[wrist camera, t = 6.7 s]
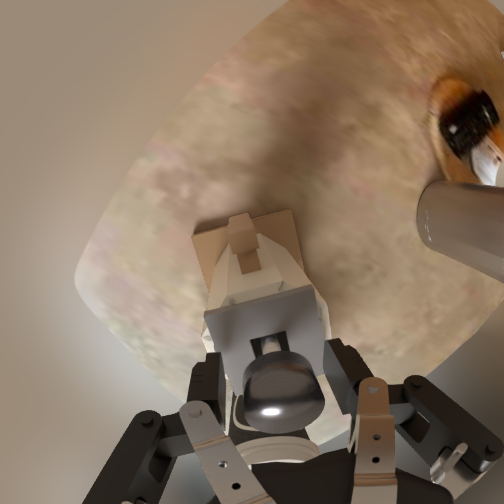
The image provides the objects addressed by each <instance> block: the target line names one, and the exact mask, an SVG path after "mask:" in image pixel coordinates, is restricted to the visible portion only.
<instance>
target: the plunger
mask: <svg viewBox="0 0 504 504" xmlns="http://www.w3.org/2000/svg"><path fill="white" fill-rule="evenodd" d="M260 340H261V346H262V351H263V355H261V356H260V357H258V358H256V359H255V360H253V361H252V362H251V363H250V364H249V365H248V366H247V367H246V369H245V371H244V373H243V376H242V387H243V403H244V416H245V419H246V421H247V423H248V424H249V425H250V426H251V427H253V428H254V429H256V430H259V431H261V432H265V433H272V434H281V433H288V432H293V431H296V430H299V429H301V428H304V427H306V426H307V425H309V424H311V423H312V422H313V421H314V420H316V419H317V418H318V417H319V415H320V414H321V413H322V411H323V409H324V406H325V398H324V395H323V393H322V390H321V388H320V385H319V383H318V380H317V378H316V376H315V373H314V371H313V368H312V366H311V364H310V362H309V361H308V360H307V359H306V358H305V357H304V356H302V355H301V354H298V353H296V352H292V351H281V348H280V345H279V341H278V337H277V334H276V333H275V334H271V335H267V336H263V337H260Z"/></svg>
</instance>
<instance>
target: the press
mask: <svg viewBox="0 0 504 504" xmlns="http://www.w3.org/2000/svg"><path fill="white" fill-rule="evenodd" d="M191 238H192V241H193V244H194V248H195V251H196V254H197V257H198V261H199V264H200V267H201V270H202V273H203V276H204V279H205V282H206V285H207V288H208V291H209V298H208V303H207V308H206V311H205V312H204V324H203V330H202V335H201V337H202V340H203V342H204V345H205V347H206V350H207V352H221V354H222V360H223V366H224V372H225V379H228V380H229V382H230V384H231V387H232V389H233V391H234V393H235V396H238V395H243V387H242V376H243V373H244V371H245V369H246V367H247V366H248V365H249V364H250V363H251V362H252V361H253V360H255V359H256V358H258V357H260V356H261V355H263V351H262V346H261V340H260V337H263V336H267V335H271V334H275V333H276V334H277V337H278V341H279V345H280V348H281V351H292V352H296V353H298V354H301V355H302V356H304V357H305V358H306V359H307V360H308V361H309V362H310V364H311V366H312V368H313V371H314V373H315V376H319V375H322V374H325V373H324V370H323V354H324V342H325V340H329V339H332V336H331V328H330V321H329V313H328V306H327V304H326V302H325V301H324V299H323V298H322V297H321V295H320V294H319V293H318V291H317V290H316V288H315V287H314V286H313V284H312V283H311V282H310V280H309V279H308V277H307V276H306V275H305V271H304V266H303V261H302V256H301V251H300V246H299V242H298V237H297V232H296V227H295V223H294V218H293V214H292V210H290V209H287V210H283V211H279V212H275V213H271V214H267V215H263V216H259V217H255V218H250V216H249V214H248V212H247V213H244V214H240V215H236V216H232V217H229V224H228V225H224V226H221V227H217V228H213V229H210V230H206V231H202V232H199V233H195V234H193V235H192V236H191Z"/></svg>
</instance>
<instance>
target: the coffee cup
mask: <svg viewBox="0 0 504 504" xmlns="http://www.w3.org/2000/svg"><path fill="white" fill-rule="evenodd" d="M228 436H229V437H230V439H231V440H232V442H233V444H234V445H235V447H236V448H237V450H238V452H239V453H240V455H241V456H242V458H243V459H244V461H245V463H246V464H247V466H248V467H249V469H250V470H251V464H257V463H267V462H293V463H302V462H305V461H307V460H310V459H312V458H315V457H317V456H319V448H318V446H317V445H316V444H315V443H313V442H312V441H310V439H309V437H308V434H307V432H306V430H305V427H304V428H301V429H299V430H296V431H293V432H288V433H281V434H272V433H265V432H261V431H259V430H256V429H254V428H253V427H251V426H250V425H249V424H248V423H247V421H246V419H245V416H244V403H243V395H238V396H235V393H234V391H233V396H232V406H231V415H230V424H229V433H228Z"/></svg>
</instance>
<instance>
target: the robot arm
mask: <svg viewBox="0 0 504 504" xmlns="http://www.w3.org/2000/svg"><path fill="white" fill-rule="evenodd" d="M417 225H418V231H419V234H420V237H421V239H422V240H423V242H424V243H425V245H426V246H427V247H429V248H430V249H432V250H434V251H437V252H439V253H441V254H444V255H446V256H448V257H450V258H452V259H454V260H457V261H459V262H461V263H463V264H465V265H467V266H470V267H472V268H474V269H476V270H478V271H480V272H482V273H484V274H486V275H488V276H490V277H492V278H494V279H496V280H498V281H500V282H502V283H504V187H498V186H491V185H483V184H475V183H466V182H457V181H446V180H439V181H435V182H433V183H431V184H430V185H429V186H428V187H427V188H426V190H425V191H424V193H423V194H422V197H421V199H420V202H419V206H418V212H417ZM323 370H324V373H325V376H326V378H327V380H328V382H329V385H330V387H331V389H332V391H333V394H334V396H335V398H336V400H337V402H338V405H339V407H340V409H341V412H342V414H343V415H345V414H349V413H350V414H351V416H352V417H351V421H350V431H349V439H348V447H347V448H344V449H340V450H336V451H332V452H327V453H324V454H322V455H319V456H317V457H315V458H312V459H310V460H307V461H305V462H302V463H293V462H267V463H257V464H251V470H250V469H249V467H248V466H247V464H246V463H245V461H244V459H243V458H242V456H241V455H240V453H239V452H238V450H237V448H236V447H235V445H234V444H233V442H232V440H231V439H230V437H229V436H226V435H225V433H224V432H223V431H225V409H226V379H225V372H224V366H223V360H222V354H221V352H208V353H207V354H206V361H205V362H197V364H196V365H195V366H194V367H193V369H192V374H191V379H190V385H189V391H188V396H187V402H186V403H185V404H184V405H183V406H182V407H181V408H180V411H179V412H177V413H175V414H172V415H167V416H162V417H161V415H160V414H159V413H157V412H155V411H152V410H146V411H142V412H140V413H138V414H136V416H135V417H134V418H133V420H132V421H131V423H130V424H129V426H128V428H127V429H126V431H125V433H124V434H123V436H122V438H121V439H120V441H119V443H118V444H117V446H116V447H115V449H114V451H113V452H112V454H111V456H110V457H109V459H108V461H107V462H106V464H105V466H104V467H103V469H102V471H101V472H100V474H99V476H98V477H97V479H96V481H95V482H94V484H93V486H92V488H91V489H90V491H89V493H88V494H87V496H86V498H85V499H84V501H83V503H82V504H158V503H159V501H160V499H161V496H162V494H163V491H164V489H165V486H166V484H167V481H168V479H169V477H170V474H171V472H172V469H173V467H174V464H175V462H176V459H177V457H178V456H181V455H185V454H189V453H194V452H195V453H196V456H197V458H198V459H199V462H200V464H201V466H202V468H203V470H204V472H205V474H206V476H207V478H208V480H209V482H210V484H211V486H212V488H213V490H214V492H215V494H216V495H215V496H214V497H213V498H212V499H211V500H210V501H209V502H208V503H207V504H455V502H454V500H455V499H456V498H457V497H458V496H459V495H460V494H462V493H463V492H465V491H466V490H468V489H469V488H470V487H471V486H472V485H474V484H475V483H476V482H477V481H478V480H479V479H480V478H481V477H482V476H483V475H484V474H485V473H486V472H487V471H488V470H489V469H490V468H491V467H492V466H493V465H494V464H495V462H496V461H497V460H498V459H499V458H500V457H501V456H502V454H503V451H504V445H503V443H502V441H501V440H500V439H499V438H498V437H497V436H496V435H494V434H493V433H492V432H491V431H490V430H488V429H487V428H486V427H485V426H483V425H482V424H481V423H480V422H479V421H478V420H476V419H475V418H474V417H473V416H471V415H470V414H469V413H468V412H467V411H465V410H464V409H463V408H462V407H460V406H459V405H458V404H457V403H456V402H454V401H453V400H452V399H451V398H449V397H448V396H447V395H446V394H445V393H443V392H442V391H441V390H440V389H438V388H437V387H436V386H435V385H433V384H432V383H431V382H430V381H429V380H427V379H426V378H425V377H423V376H419V375H412V376H409V377H407V378H406V379H405V380H404V383H403V384H396V385H388V384H387V383H386V382H385V381H384V380H383V379H381V378H378V377H374V375H373V374H372V372H371V371H370V369H369V368H368V366H367V365H366V363H365V362H364V361H363V359H362V357H360V354H359V353H358V352H357V350H356V349H355V348H353V347H351V346H350V345H347V346H344V344H343V343H342V341H341V340H340V338H335V339H329V340H325V342H324V354H323ZM418 412H420V413H421V414H422V415H423V416H424V417H425V418H426V419H427V420H428V421H429V423H430V424H429V423H428V422H427V421H426V420H425V419H424V418H423V417H422V416H421V415H420V414H419V413H418ZM395 429H396V431H397V432H398V433H399V434H400V435H401V436H402V437H403V438H404V439H405V440H406V441H407V442H408V443H409V445H410V446H411V447H412V448H413V449H414V450H415V451H416V452H417V453H418V454H419V455H420V456H421V457H422V458H423V459H424V460H425V461H426V463H427V464H428V465H429V466H430V467H431V470H430V475H431V481H432V482H430V481H428V480H425V479H422V478H420V477H417V476H415V475H412V474H410V473H408V472H405V471H403V470H400V469H398V468H396V467H395Z"/></svg>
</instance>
